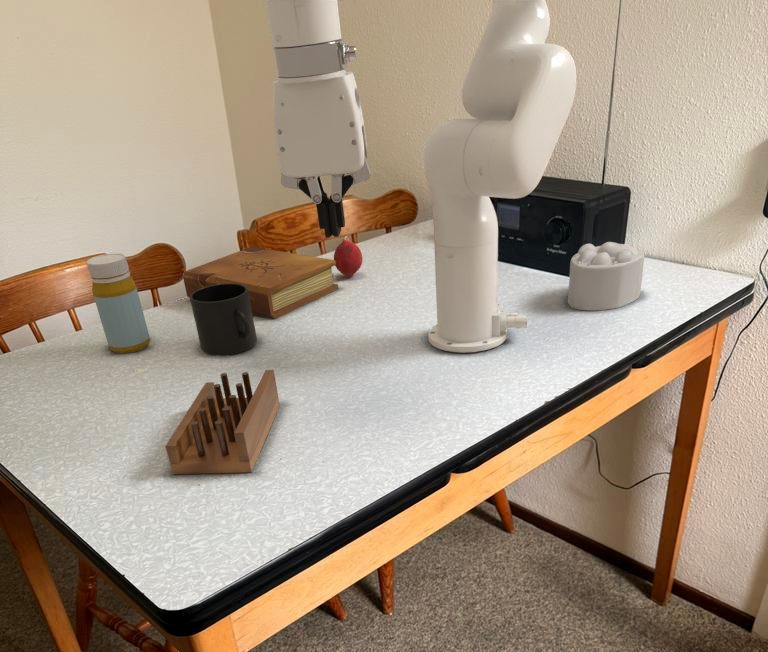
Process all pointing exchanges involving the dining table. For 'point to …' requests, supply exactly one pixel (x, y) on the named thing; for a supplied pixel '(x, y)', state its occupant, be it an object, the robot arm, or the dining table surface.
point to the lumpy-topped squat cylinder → (605, 276)
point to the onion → (348, 257)
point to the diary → (268, 278)
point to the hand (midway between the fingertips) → (333, 233)
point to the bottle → (118, 303)
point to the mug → (224, 318)
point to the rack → (224, 427)
